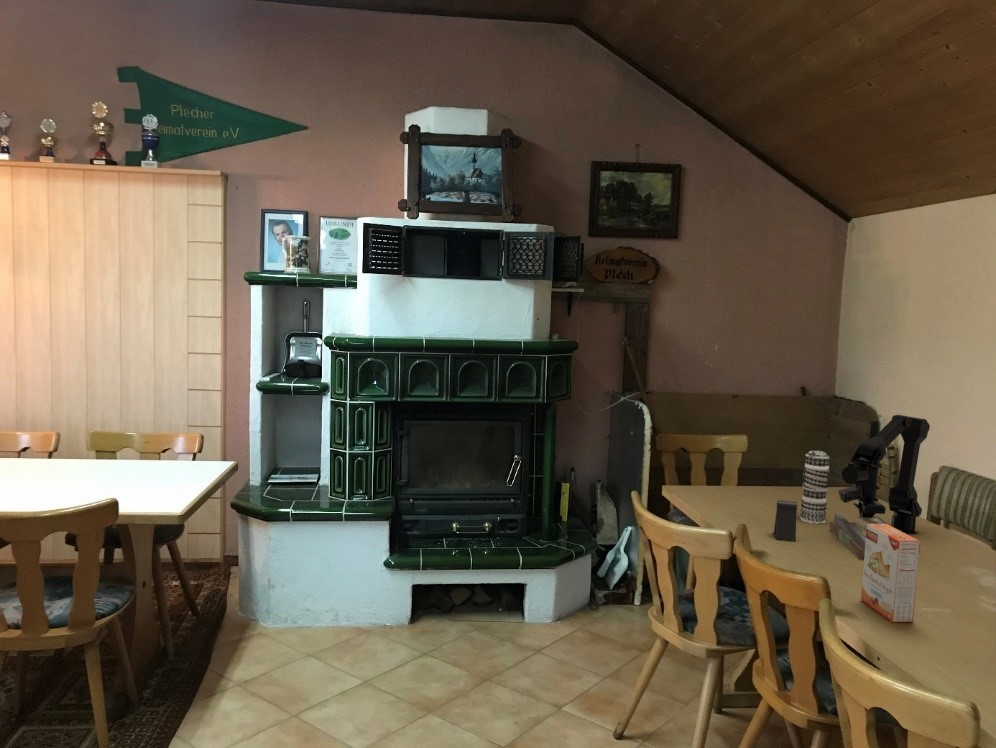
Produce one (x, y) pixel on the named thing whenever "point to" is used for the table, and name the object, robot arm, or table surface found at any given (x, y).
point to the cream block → (865, 523)
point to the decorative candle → (815, 487)
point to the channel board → (850, 534)
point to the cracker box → (890, 572)
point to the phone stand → (785, 521)
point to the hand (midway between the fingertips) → (863, 527)
